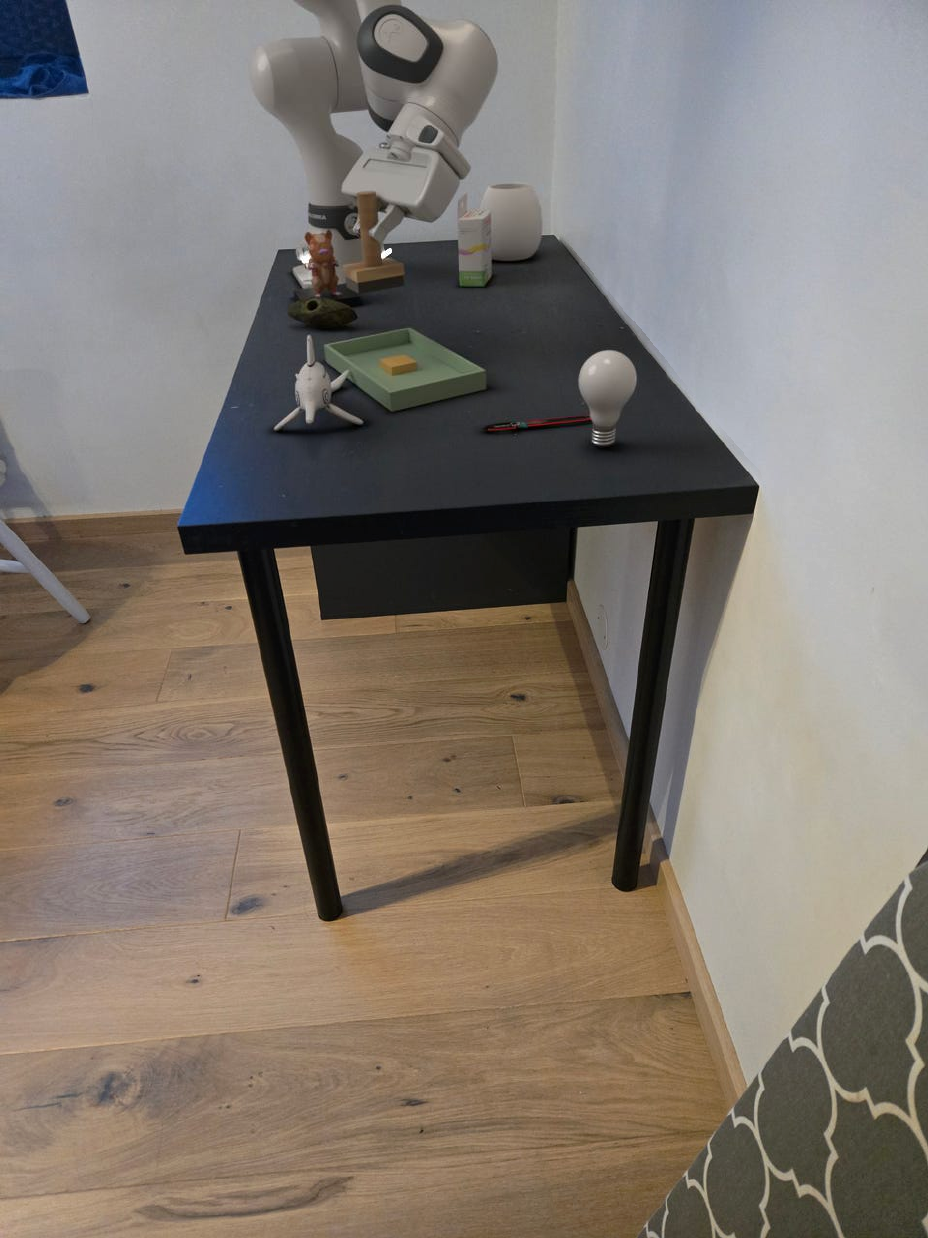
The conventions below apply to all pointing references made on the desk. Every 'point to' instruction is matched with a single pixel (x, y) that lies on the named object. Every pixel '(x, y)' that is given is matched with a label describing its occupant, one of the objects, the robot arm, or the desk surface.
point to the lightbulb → (606, 392)
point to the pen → (533, 423)
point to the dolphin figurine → (315, 391)
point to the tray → (429, 383)
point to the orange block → (398, 364)
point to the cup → (513, 220)
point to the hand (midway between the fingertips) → (366, 237)
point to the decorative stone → (321, 312)
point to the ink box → (474, 245)
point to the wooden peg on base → (372, 254)
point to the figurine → (325, 272)
